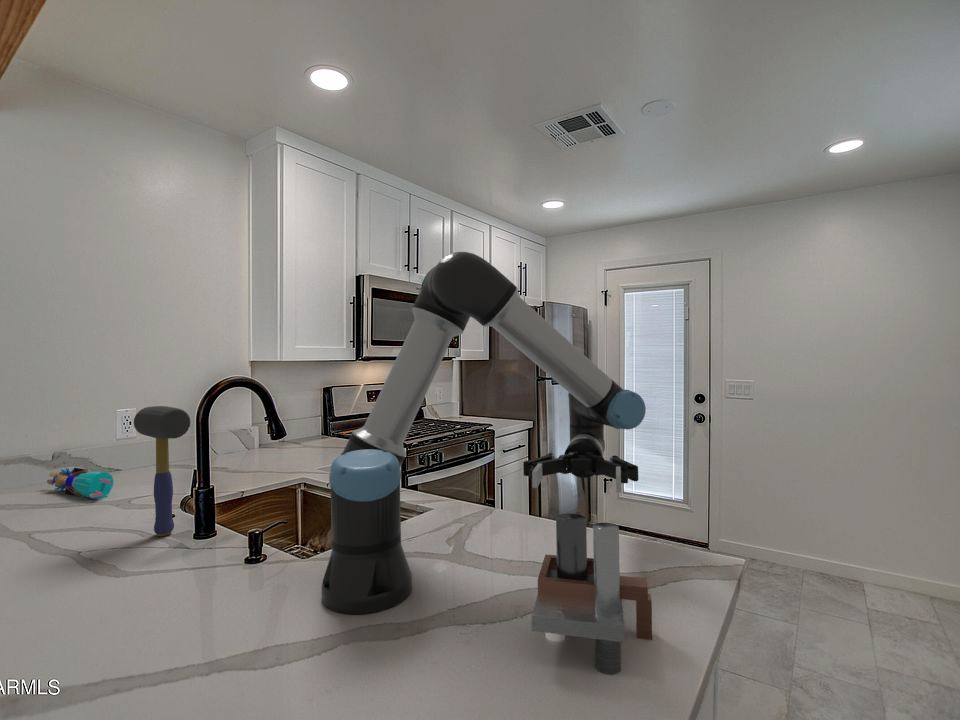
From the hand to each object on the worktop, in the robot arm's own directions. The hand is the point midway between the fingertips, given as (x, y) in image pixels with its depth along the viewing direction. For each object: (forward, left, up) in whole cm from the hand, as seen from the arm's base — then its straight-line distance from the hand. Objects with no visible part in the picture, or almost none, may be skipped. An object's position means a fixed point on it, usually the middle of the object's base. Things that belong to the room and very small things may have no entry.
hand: (575, 481), depth 80 cm
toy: (-153, +33, -20) cm, 158 cm away
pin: (0, -8, -19) cm, 21 cm away
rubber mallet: (-95, +10, -20) cm, 98 cm away
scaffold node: (+3, -11, -19) cm, 23 cm away
